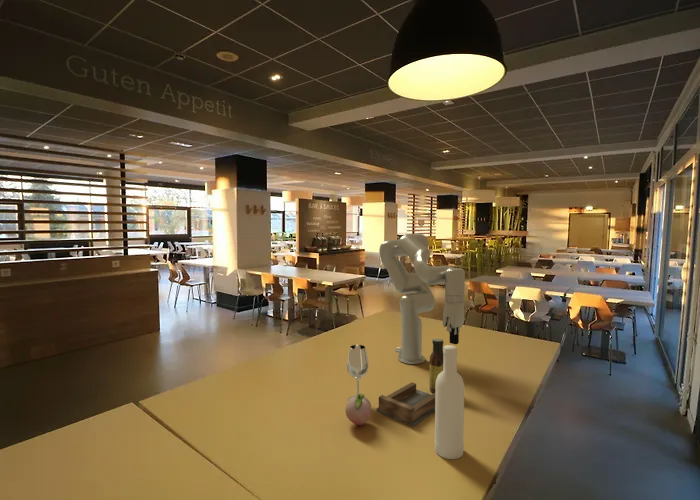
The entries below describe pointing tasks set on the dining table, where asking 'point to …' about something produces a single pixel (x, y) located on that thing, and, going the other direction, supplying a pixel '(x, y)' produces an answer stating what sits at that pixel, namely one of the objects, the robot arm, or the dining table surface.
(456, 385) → the bottle
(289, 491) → the dining table surface
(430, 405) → the cradle
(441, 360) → the sauce bottle
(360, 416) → the decorative fruit
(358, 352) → the wineglass
